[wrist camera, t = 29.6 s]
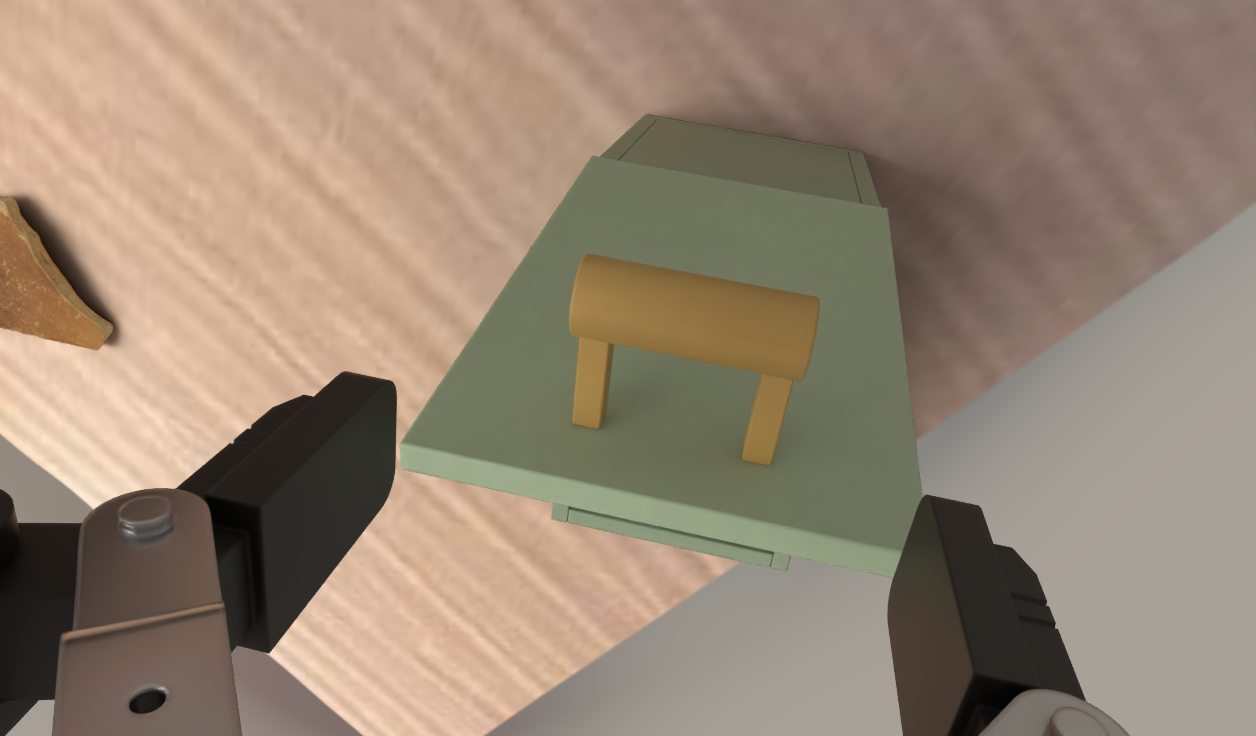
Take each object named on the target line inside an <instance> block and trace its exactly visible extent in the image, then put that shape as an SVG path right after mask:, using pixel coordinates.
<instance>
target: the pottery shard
mask: <svg viewBox="0 0 1256 736" xmlns="http://www.w3.org/2000/svg"><path fill="white" fill-rule="evenodd" d="M0 328H3V329H8V330H11V331H17V332H19V333H22V334H27V335H33V336H36V337H39V338H43V339H48V340H53V341H58V342H62V343H67V344H71V345H76V346H80V347H85V348H89V349H94V350H99V349H100V347H101V346H102V345H103V344H104V343H105V341H106V340H107V338H108V337H109V336H110V334H111V333H112V332H113V325H112V324H111V323H110V322H108V321H106V320H105V319H103V318H101V317H100V316H99V315H97V314H96V313H95V312H94V311H92V310H91V309H90V308H88V307H87V305H85V304H84V302H83V301H82V300H81V299H80V298H79V297H78V296H77V294H76V293H75V291H74V290H73V289H72V287H71V285H70V283H69V282H68V281H67V280H66V278H65V277H64V275H63V274H62V273H61V272H60V270H59V269H58V268H57V267H56V265H55V264H54V262H53V261H52V260H51V258H50V257H49V255H48V253H47V251H46V250H45V248H44V246H43V245H42V243H41V240H40V237H39V235H38V234H37V233H36V232H35V231H34V230H33V229H32V228H31V227H30V226H29V225H28V224H27V222H26V221H25V220H24V218H23V217H22V216H21V214H20V210H19V206H18V204H17V202H16V201H15V199H14V198H12V197H0Z"/></svg>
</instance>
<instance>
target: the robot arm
mask: <svg viewBox="0 0 1256 736" xmlns="http://www.w3.org/2000/svg"><path fill="white" fill-rule="evenodd" d="M396 412H397V393H396V387H395V385H394V383H393V382H392V381H390V380H385V379H380V378H376V377H371V376H366V375H361V374H357V373H352V372H347V371H344V372H342V373H340V374H339V375H338V376H337V377H335V378H334V379H333V380H332V381H331V382H330V383H329V384H328V385H326V386H325V387H324V388H323V389H322V390H321V391H320V392H319V393H317V394H316V395H315V396H314V397H312V396H308V395H302V396H300V397H297V398H295V399H292V400H290V401H287V402H285V403H282V404H280V405H277V406H275V407H273V408H271V409H270V410H269V411H268V412H267V413H265V414H264V415H263V416H262V417H261V418H260V419H258V420H257V421H256V422H255V423H254V424H252V427H251V429H246V430H245V431H244V432H243V433H242V434H240V435H239V436H238V437H237V438H236V439H234V443H233V444H231V443H230V444H228V445H227V446H226V447H225V448H224V449H222V450H221V451H220V452H219V453H218V454H216V455H215V456H214V457H213V458H212V459H210V460H209V461H208V462H207V463H206V464H205V465H203V466H202V467H201V468H200V469H199V470H197V471H196V472H195V473H194V474H193V475H191V476H190V477H189V478H188V479H187V480H185V481H184V482H183V483H182V484H181V485H179V486H178V487H177V488H176V489H169V488H155V489H145V490H140V491H134V492H131V493H127V494H123V495H121V496H118V497H115V498H113V499H111V500H109V501H107V502H105V503H103V504H101V505H100V506H98V507H97V508H95V509H94V510H93V511H92V512H90V513H89V514H88V516H87V517H86V518H85V519H84V521H83V522H82V523H18V522H17V518H16V513H15V508H14V504H13V500H12V498H11V497H10V496H9V494H7V493H6V492H5V491H3V490H1V489H0V736H5V735H6V734H7V733H8V732H9V731H10V730H11V729H12V728H13V727H14V726H15V725H16V724H17V723H18V722H19V721H20V720H21V718H22V717H23V716H24V715H25V714H26V713H27V712H28V711H29V710H30V709H31V708H32V707H33V706H34V705H35V704H36V703H37V701H38V700H55V704H54V716H53V728H52V729H53V730H52V736H242V731H241V723H240V716H239V709H238V702H237V694H236V687H235V679H234V672H233V665H232V658H231V652H232V651H233V650H234V649H235V648H236V646H241V647H245V648H250V649H253V650H257V651H261V652H265V653H270V652H271V651H272V649H273V648H274V647H275V646H276V644H277V643H278V642H279V640H280V639H281V638H282V636H283V635H284V634H285V633H286V631H287V630H288V629H289V627H290V626H291V625H292V623H293V622H294V621H295V620H296V618H297V617H298V616H299V614H300V613H301V612H302V611H303V609H304V608H305V607H306V605H307V604H308V603H309V601H310V600H311V599H312V598H313V596H314V595H315V594H316V592H317V591H318V590H319V589H320V587H321V586H322V585H323V583H324V582H325V581H326V579H327V578H328V577H329V576H330V574H331V573H332V572H333V570H334V569H335V568H336V566H337V565H338V564H339V563H340V561H341V560H342V559H343V557H344V556H345V555H346V554H347V552H348V551H349V550H350V548H351V547H352V546H353V544H354V543H355V542H356V541H357V539H358V538H359V537H360V535H361V534H362V533H363V532H364V530H365V529H366V528H367V526H368V525H369V524H370V522H371V521H372V520H373V519H374V517H375V516H376V515H377V513H378V512H379V511H380V510H381V508H382V507H383V505H384V504H385V502H386V500H387V498H388V496H389V493H390V490H391V487H392V484H393V480H394V474H395V461H396ZM1046 603H1047V600H1046V598H1045V595H1044V592H1043V590H1042V587H1041V585H1040V582H1039V580H1038V577H1037V574H1036V573H1035V572H1034V571H1033V570H1032V569H1031V568H1030V567H1029V566H1028V565H1027V564H1026V562H1025V561H1024V560H1023V559H1022V558H1021V557H1020V556H1019V555H1018V554H1017V552H1016V551H1015V550H1014V549H1013V548H1011V547H1006V546H1001V545H996V544H993V541H992V538H991V535H990V532H989V529H988V526H987V524H986V521H985V518H984V515H983V512H982V509H981V508H980V507H979V506H978V505H974V504H969V503H964V502H959V501H955V500H950V499H945V498H941V497H936V496H931V495H925V496H924V497H923V498H922V499H921V501H920V503H919V505H918V508H917V510H916V513H915V516H914V519H913V522H912V525H911V528H910V531H909V533H908V536H907V539H906V542H905V545H904V548H903V551H902V554H901V557H900V560H899V563H898V565H897V568H896V571H895V574H894V577H893V580H892V585H891V589H890V594H889V602H888V627H889V635H890V642H891V650H892V657H893V664H894V672H895V679H896V686H897V693H898V702H899V709H900V716H901V724H902V731H903V736H1130V735H1129V734H1128V733H1127V732H1126V731H1125V730H1124V729H1123V728H1122V727H1121V726H1120V725H1119V724H1118V723H1117V722H1116V721H1115V720H1113V719H1112V718H1111V717H1110V716H1108V715H1107V714H1106V713H1104V712H1103V711H1101V710H1100V709H1098V708H1097V707H1095V706H1093V705H1092V704H1090V703H1088V702H1086V700H1085V697H1084V694H1083V692H1082V689H1081V687H1080V684H1079V682H1078V679H1077V677H1076V674H1075V672H1074V669H1073V666H1072V664H1071V661H1070V659H1069V656H1068V654H1067V651H1066V649H1065V646H1064V643H1063V641H1062V638H1061V636H1060V633H1059V631H1058V629H1055V624H1056V623H1055V620H1054V618H1053V616H1052V613H1051V610H1050V608H1049V606H1046Z"/></svg>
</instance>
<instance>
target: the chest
mask: <svg viewBox="0 0 1256 736" xmlns="http://www.w3.org/2000/svg"><path fill="white" fill-rule="evenodd" d="M600 157H601V158H607V159H613V160H618V161H624V162H630V163H635V164H641V165H646V166H652V167H658V168H663V169H669V170H674V171H680V172H686V173H691V174H697V175H702V176H708V177H714V178H719V179H725V180H731V181H736V182H742V183H747V184H753V185H759V186H764V187H770V188H775V189H781V190H787V191H792V192H798V193H803V194H809V195H815V196H820V197H826V198H832V199H837V200H843V201H848V202H854V203H860V204H865V205H871V206H876V207H881V205H880V202H879V199H878V196H877V193H876V190H875V187H874V184H873V181H872V178H871V176H870V173H869V170H868V167H867V164H866V161H865V158H864V155H863V152H860V151H854V150H848V149H843V148H837V147H831V146H825V145H819V144H814V143H808V142H802V141H796V140H790V139H785V138H779V137H773V136H767V135H761V134H755V133H750V132H744V131H738V130H732V129H726V128H721V127H715V126H709V125H703V124H697V123H692V122H686V121H680V120H674V119H668V118H662V117H657V116H651V115H644V116H643V117H642V118H641V119H640V120H639V121H638V122H636V123H635V124H634V125H633V126H632V127H631V128H630V129H629V130H628V131H627V132H626V133H625V134H624V135H623V136H622V137H621V138H619V139H618V140H617V141H616V142H615V143H614V144H613V145H612V146H611V147H610V148H609V149H608V150H607V151H606V152H605V153H603V154H602V155H601V156H600ZM552 519H553V520H557V521H562V522H567V521H568V523H571V524H576V525H580V526H585V527H589V528H594V529H598V530H603V531H607V532H612V533H616V534H620V535H625V536H629V537H634V538H638V539H643V540H647V541H652V542H656V543H661V544H665V545H670V546H674V547H679V548H683V549H688V550H692V551H696V552H701V553H705V554H710V555H714V556H719V557H723V558H728V559H732V560H737V561H741V562H746V563H751V564H755V565H759V566H764V567H768V568H769V567H770V566H771V568H772V569H777V570H781V571H787V569H788V565H789V561H790V558H791V555H786V554H782V553H777V552H773V551H768V550H764V549H759V548H755V547H750V546H746V545H741V544H736V543H732V542H727V541H723V540H718V539H714V538H709V537H705V536H700V535H696V534H691V533H687V532H682V531H678V530H673V529H669V528H664V527H660V526H655V525H651V524H646V523H642V522H637V521H633V520H628V519H624V518H619V517H615V516H610V515H606V514H601V513H597V512H592V511H588V510H583V509H579V508H574V507H570V506H565V505H561V504H556V503H553V509H552Z"/></svg>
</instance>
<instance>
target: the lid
mask: <svg viewBox="0 0 1256 736" xmlns="http://www.w3.org/2000/svg"><path fill="white" fill-rule="evenodd" d="M400 458H401V468H402V469H403V470H407V471H412V472H416V473H421V474H425V475H430V476H434V477H439V478H443V479H448V480H452V481H457V482H461V483H466V484H470V485H475V486H479V487H484V488H488V489H493V490H497V491H502V492H506V493H511V494H515V495H520V496H525V497H529V498H534V499H538V500H543V501H547V502H552V503H556V504H561V505H565V506H570V507H574V508H579V509H583V510H588V511H592V512H597V513H601V514H606V515H610V516H615V517H619V518H624V519H628V520H633V521H637V522H642V523H646V524H651V525H655V526H660V527H664V528H669V529H673V530H678V531H682V532H687V533H691V534H696V535H700V536H705V537H709V538H714V539H718V540H723V541H727V542H732V543H736V544H741V545H746V546H750V547H755V548H759V549H764V550H768V551H773V552H777V553H782V554H786V555H791V556H795V557H800V558H804V559H809V560H814V561H818V562H822V563H827V564H831V565H836V566H840V567H845V568H849V569H854V570H858V571H863V572H867V573H872V574H876V575H881V576H885V577H890V578H893V577H894V574H895V571H896V568H897V565H898V563H899V560H900V557H901V554H902V551H903V548H904V545H905V542H906V539H907V536H908V533H909V531H910V528H911V525H912V522H913V519H914V516H915V513H916V510H917V508H918V505H919V503H920V501H921V499H922V498H923V497H922V489H921V482H920V473H919V464H918V456H917V447H916V439H915V431H914V422H913V414H912V406H911V398H910V389H909V381H908V373H907V364H906V356H905V348H904V340H903V331H902V323H901V315H900V306H899V298H898V290H897V282H896V273H895V265H894V257H893V248H892V240H891V232H890V224H889V215H888V209H887V208H882V207H876V206H871V205H865V204H860V203H854V202H848V201H843V200H837V199H832V198H826V197H820V196H815V195H809V194H803V193H798V192H792V191H787V190H781V189H775V188H770V187H764V186H759V185H753V184H747V183H742V182H736V181H731V180H725V179H719V178H714V177H708V176H702V175H697V174H691V173H686V172H680V171H674V170H669V169H663V168H658V167H652V166H646V165H641V164H635V163H630V162H624V161H618V160H613V159H607V158H601V157H596V156H592V157H591V158H590V160H589V161H588V163H587V164H586V166H585V167H584V169H583V170H582V172H581V173H580V175H579V176H578V178H577V179H576V181H575V182H574V184H573V185H572V187H571V188H570V189H569V191H568V192H567V194H566V195H565V197H564V198H563V200H562V201H561V203H560V204H559V206H558V207H557V209H556V210H555V212H554V213H553V215H552V216H551V218H550V219H549V221H548V222H547V224H546V225H545V227H544V228H543V230H542V231H541V233H540V234H539V236H538V237H537V239H536V240H535V242H534V243H533V245H532V246H531V248H530V249H529V251H528V252H527V254H526V255H525V257H524V258H523V260H522V261H521V263H520V264H519V266H518V267H517V269H516V270H515V272H514V273H513V275H512V276H511V278H510V279H509V281H508V282H507V284H506V285H505V287H504V288H503V290H502V291H501V293H500V294H499V296H498V297H497V299H496V300H495V302H494V303H493V305H492V306H491V308H490V309H489V311H488V312H487V314H486V315H485V317H484V318H483V320H482V321H481V323H480V324H479V326H478V327H477V329H476V330H475V332H474V333H473V335H472V336H471V338H470V339H469V341H468V342H467V344H466V345H465V347H464V348H463V350H462V351H461V353H460V354H459V356H458V357H457V359H456V360H455V362H454V363H453V365H452V366H451V368H450V369H449V371H448V372H447V374H446V375H445V377H444V378H443V380H442V381H441V383H440V384H439V386H438V387H437V389H436V390H435V392H434V393H433V395H432V396H431V398H430V399H429V401H428V402H427V404H426V405H425V407H424V408H423V410H422V411H421V413H420V414H419V416H418V417H417V419H416V420H415V422H414V423H413V425H412V426H411V428H410V429H409V431H408V432H407V434H406V435H405V437H404V438H403V440H402V441H401V443H400Z"/></svg>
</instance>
